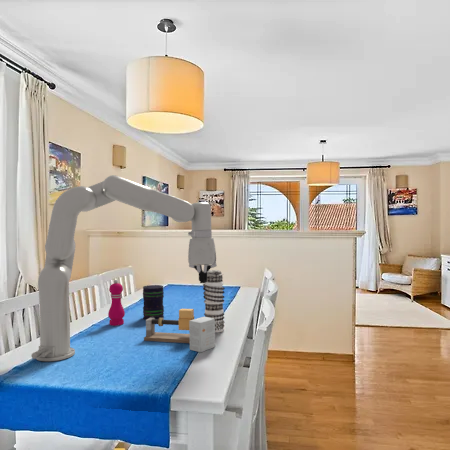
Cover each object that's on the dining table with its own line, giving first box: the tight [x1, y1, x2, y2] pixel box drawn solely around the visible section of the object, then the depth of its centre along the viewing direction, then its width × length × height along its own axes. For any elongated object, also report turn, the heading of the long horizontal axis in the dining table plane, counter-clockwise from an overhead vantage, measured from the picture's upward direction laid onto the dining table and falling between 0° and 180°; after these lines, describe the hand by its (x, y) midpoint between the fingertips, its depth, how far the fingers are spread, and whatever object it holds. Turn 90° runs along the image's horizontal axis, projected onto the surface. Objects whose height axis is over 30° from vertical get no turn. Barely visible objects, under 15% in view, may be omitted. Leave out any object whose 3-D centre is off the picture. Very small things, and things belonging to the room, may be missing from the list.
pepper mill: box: [107, 279, 126, 327], centre depth 181 cm, size 7×7×20 cm
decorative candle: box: [202, 269, 226, 333], centre depth 169 cm, size 9×9×25 cm
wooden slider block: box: [177, 308, 195, 331], centre depth 155 cm, size 4×5×7 cm
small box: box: [188, 316, 216, 353], centre depth 145 cm, size 8×6×10 cm
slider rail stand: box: [143, 318, 190, 344], centre depth 156 cm, size 8×22×8 cm, turn 78°
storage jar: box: [142, 284, 165, 321], centre depth 192 cm, size 10×10×15 cm
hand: (203, 282), depth 154 cm, fingers closed
